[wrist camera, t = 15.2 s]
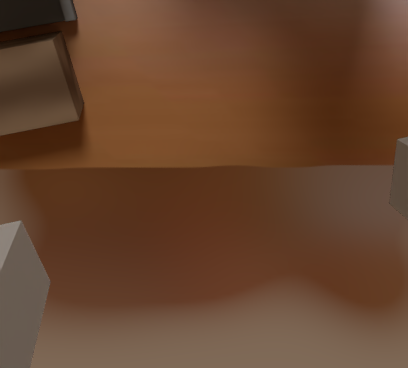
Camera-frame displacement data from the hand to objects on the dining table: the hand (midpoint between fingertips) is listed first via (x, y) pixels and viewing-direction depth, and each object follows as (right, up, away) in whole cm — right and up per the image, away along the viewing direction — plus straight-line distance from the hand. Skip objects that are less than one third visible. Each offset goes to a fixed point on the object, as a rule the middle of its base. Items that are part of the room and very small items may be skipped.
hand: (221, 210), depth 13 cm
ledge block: (-21, +13, +29) cm, 38 cm away
